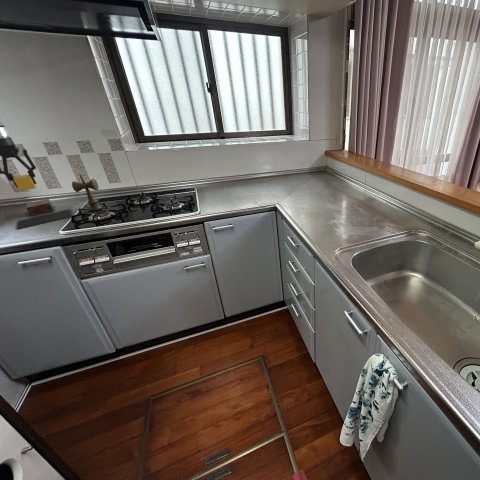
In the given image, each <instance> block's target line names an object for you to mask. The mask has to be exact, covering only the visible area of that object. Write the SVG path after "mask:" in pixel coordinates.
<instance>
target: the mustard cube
mask: <svg viewBox="0 0 480 480" xmlns="http://www.w3.org/2000/svg"><path fill="white" fill-rule="evenodd" d="M13 177H14V178H13V180H14V182H15V183H16V185H17V187H16V188H18V191H20V192H22V191H28V190H33V189H34V190H35V189H37V183H36V184H34V183H33V181H32V179H31V177H30V176H29V174H23V175H16V176H13Z"/></svg>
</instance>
